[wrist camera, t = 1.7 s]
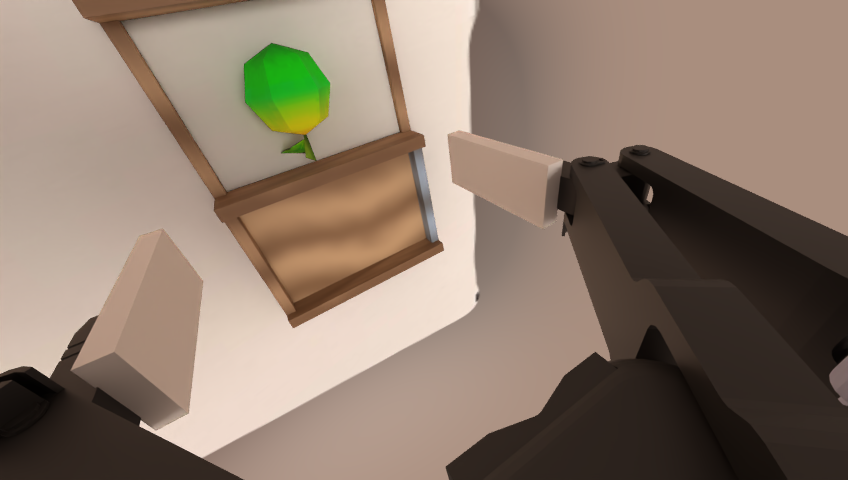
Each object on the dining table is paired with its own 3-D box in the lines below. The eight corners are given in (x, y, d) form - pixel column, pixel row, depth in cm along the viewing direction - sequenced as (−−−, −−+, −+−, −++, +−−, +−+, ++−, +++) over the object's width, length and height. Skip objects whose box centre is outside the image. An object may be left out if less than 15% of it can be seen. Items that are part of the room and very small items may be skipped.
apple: (274, 39, 19) (326, 174, 24) (330, 31, 23) (363, 145, 29) (198, 57, 21) (259, 176, 26) (262, 47, 26) (304, 149, 31)
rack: (87, 0, 19) (65, -10, 16) (374, -39, 25) (391, -51, 23) (288, 308, 36) (293, 328, 33) (430, 238, 42) (443, 250, 40)
